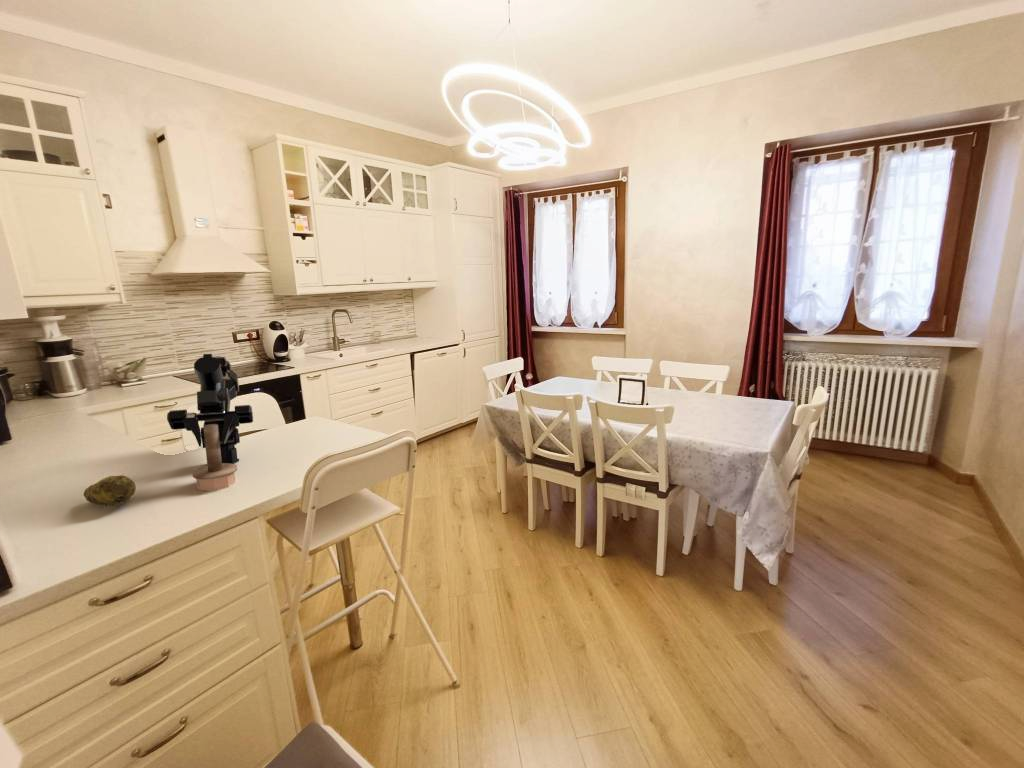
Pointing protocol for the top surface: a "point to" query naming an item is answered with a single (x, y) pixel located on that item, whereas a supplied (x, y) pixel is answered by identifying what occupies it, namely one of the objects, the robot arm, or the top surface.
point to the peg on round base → (213, 457)
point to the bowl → (216, 482)
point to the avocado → (110, 490)
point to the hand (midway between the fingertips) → (211, 444)
